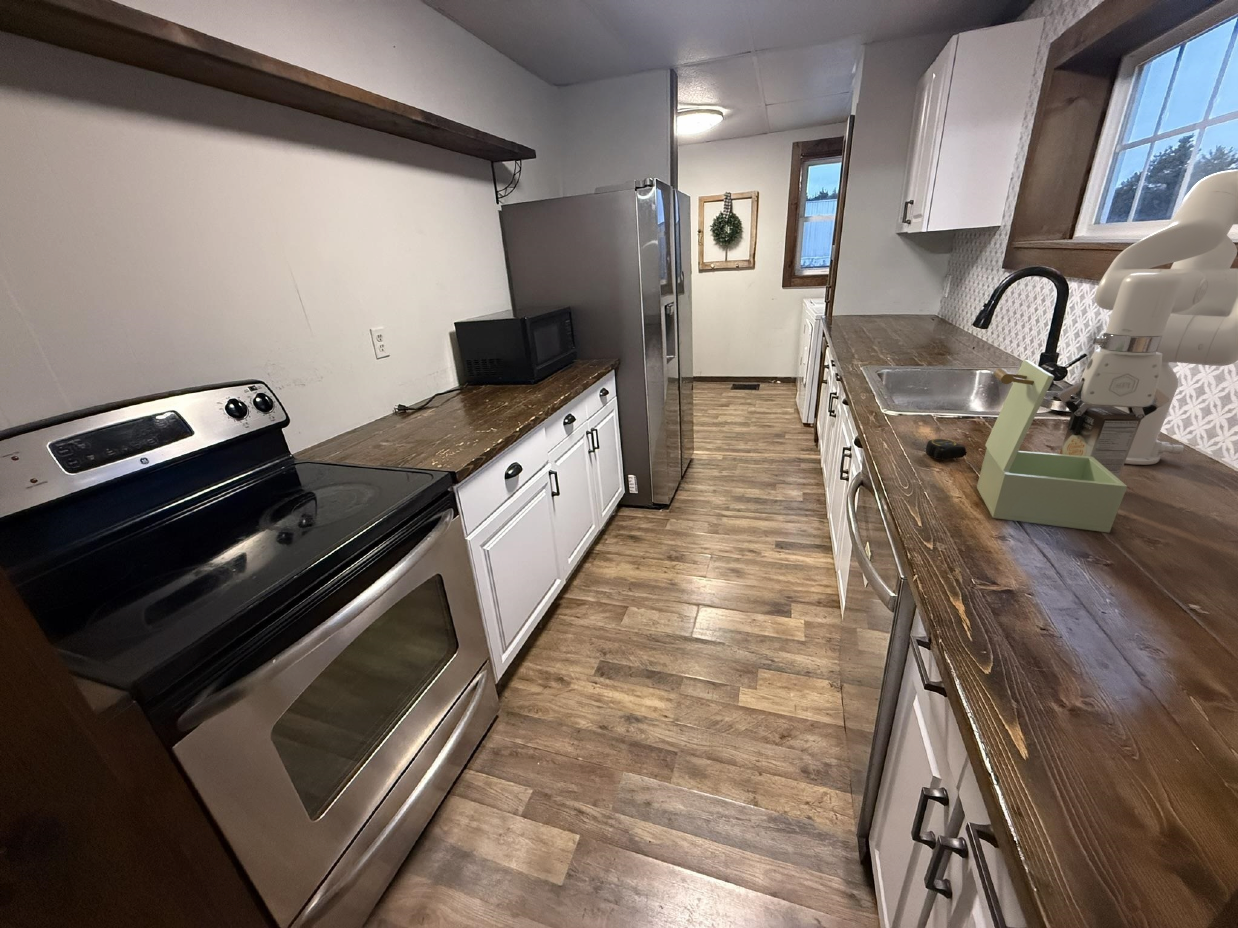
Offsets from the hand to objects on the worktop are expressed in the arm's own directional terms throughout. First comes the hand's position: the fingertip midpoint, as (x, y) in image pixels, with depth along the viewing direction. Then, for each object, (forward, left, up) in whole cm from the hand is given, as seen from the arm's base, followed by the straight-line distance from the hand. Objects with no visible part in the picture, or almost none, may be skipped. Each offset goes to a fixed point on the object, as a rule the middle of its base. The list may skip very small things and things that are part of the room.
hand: (1098, 434), depth 98 cm
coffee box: (0, 0, -11) cm, 11 cm away
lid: (+18, +14, +7) cm, 24 cm away
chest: (+11, +14, -11) cm, 21 cm away
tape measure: (+23, -9, -11) cm, 27 cm away
